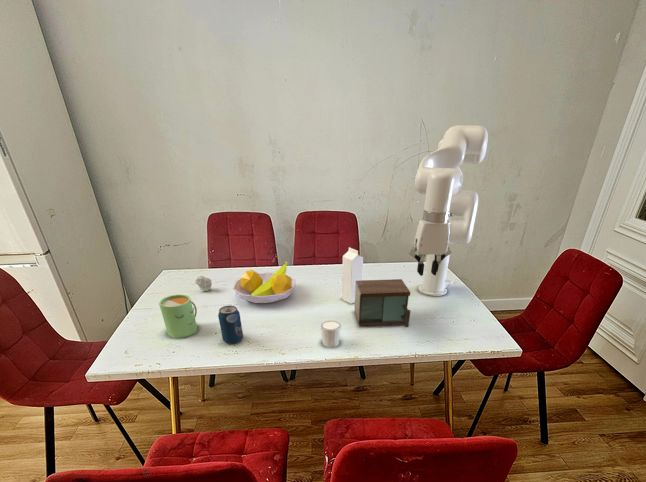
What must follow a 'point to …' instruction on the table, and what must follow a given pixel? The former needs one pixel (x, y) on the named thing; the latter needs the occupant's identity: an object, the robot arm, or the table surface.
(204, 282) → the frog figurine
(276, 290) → the fruit bowl
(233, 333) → the soda can
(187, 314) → the mug
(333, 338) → the shot glass
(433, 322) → the table surface
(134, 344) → the table surface
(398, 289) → the cabinet
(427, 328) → the table surface
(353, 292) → the milk
